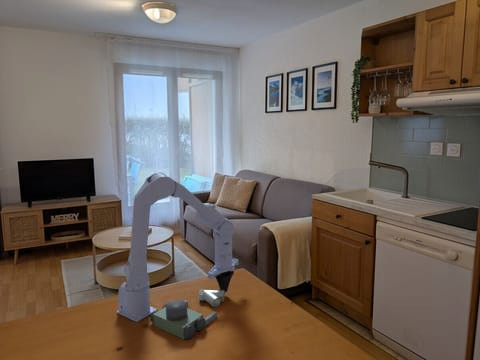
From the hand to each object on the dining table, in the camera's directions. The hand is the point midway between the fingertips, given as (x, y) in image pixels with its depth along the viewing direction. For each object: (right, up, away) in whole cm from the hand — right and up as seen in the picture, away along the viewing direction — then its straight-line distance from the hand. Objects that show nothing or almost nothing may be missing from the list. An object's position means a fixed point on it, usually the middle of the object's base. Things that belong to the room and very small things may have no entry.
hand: (223, 291), depth 121 cm
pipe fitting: (-4, -3, -5) cm, 7 cm away
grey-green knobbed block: (-11, -4, -15) cm, 19 cm away
